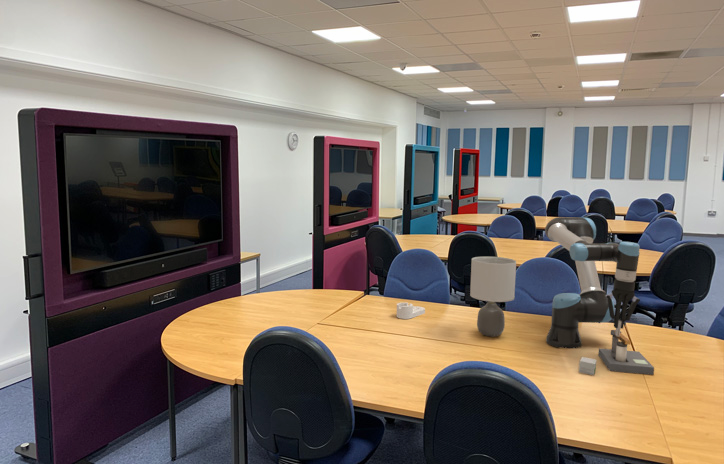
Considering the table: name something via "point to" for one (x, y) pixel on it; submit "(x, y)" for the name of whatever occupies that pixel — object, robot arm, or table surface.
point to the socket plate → (632, 364)
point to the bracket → (408, 311)
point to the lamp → (492, 290)
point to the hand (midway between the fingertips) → (617, 335)
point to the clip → (621, 337)
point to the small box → (587, 366)
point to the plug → (621, 352)
